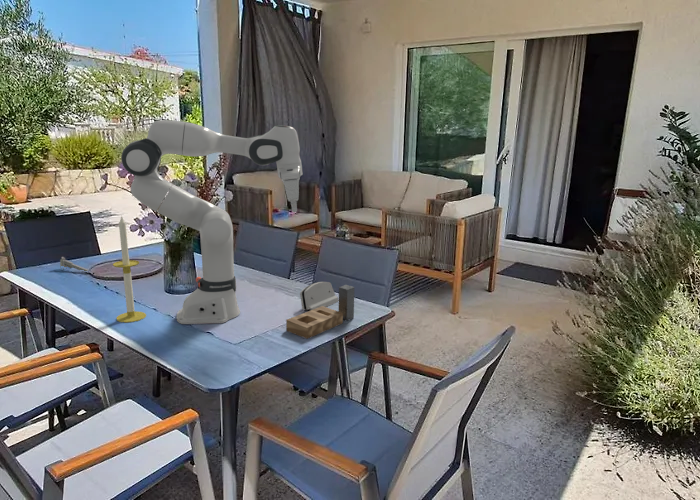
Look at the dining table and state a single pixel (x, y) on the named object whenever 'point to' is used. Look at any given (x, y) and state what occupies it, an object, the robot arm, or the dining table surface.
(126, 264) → the candle
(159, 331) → the dining table surface
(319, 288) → the grey piece
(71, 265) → the caliper
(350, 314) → the steel peg
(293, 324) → the socket block
